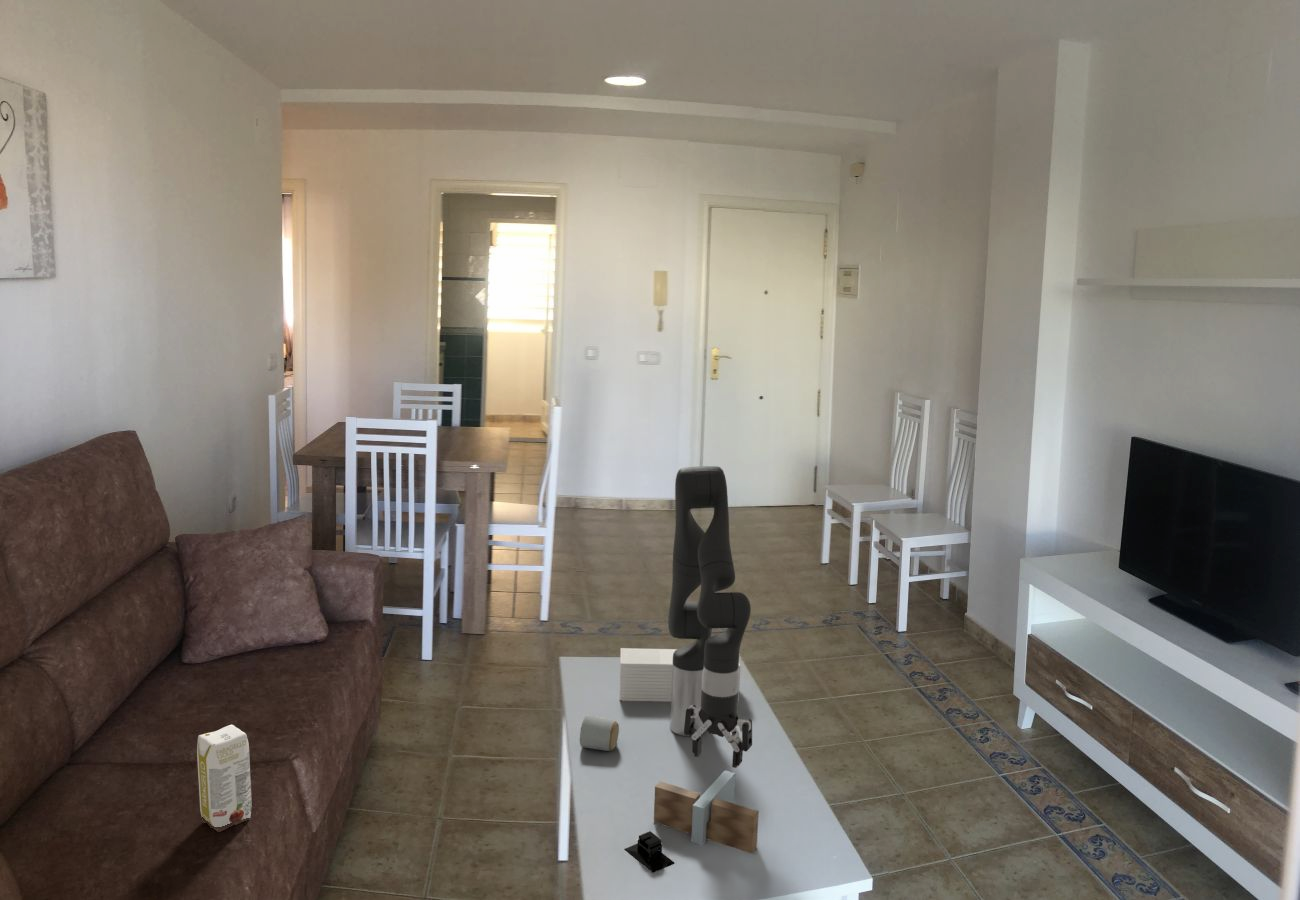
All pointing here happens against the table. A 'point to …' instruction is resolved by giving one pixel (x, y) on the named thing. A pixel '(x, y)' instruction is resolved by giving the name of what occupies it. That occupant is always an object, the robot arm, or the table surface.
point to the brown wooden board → (723, 827)
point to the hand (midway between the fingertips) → (716, 760)
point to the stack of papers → (647, 674)
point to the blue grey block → (702, 806)
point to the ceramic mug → (599, 733)
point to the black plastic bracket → (649, 852)
